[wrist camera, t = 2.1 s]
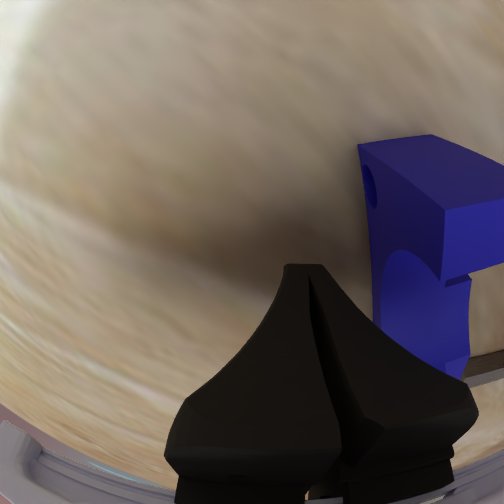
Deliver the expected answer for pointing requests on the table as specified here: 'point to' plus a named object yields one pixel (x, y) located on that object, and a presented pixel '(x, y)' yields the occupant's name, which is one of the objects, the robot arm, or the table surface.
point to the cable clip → (430, 240)
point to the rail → (483, 369)
